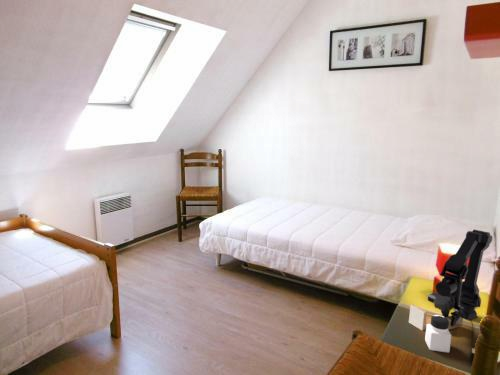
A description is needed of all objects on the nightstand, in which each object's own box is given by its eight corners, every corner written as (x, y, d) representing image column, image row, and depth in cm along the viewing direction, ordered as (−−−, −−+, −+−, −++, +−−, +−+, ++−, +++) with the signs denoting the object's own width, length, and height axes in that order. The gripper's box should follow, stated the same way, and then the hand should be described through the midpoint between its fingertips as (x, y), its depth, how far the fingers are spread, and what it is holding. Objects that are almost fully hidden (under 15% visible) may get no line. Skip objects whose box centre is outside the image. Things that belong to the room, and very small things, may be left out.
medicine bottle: (449, 353, 138) (453, 323, 136) (429, 350, 139) (432, 320, 137) (443, 342, 145) (447, 314, 143) (424, 339, 146) (427, 311, 144)
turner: (453, 321, 159) (454, 312, 159) (464, 327, 155) (465, 318, 154) (427, 328, 153) (428, 319, 152) (438, 334, 148) (439, 325, 148)
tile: (411, 321, 160) (413, 304, 159) (424, 329, 154) (426, 311, 153) (408, 322, 159) (410, 305, 158) (422, 330, 153) (424, 312, 152)
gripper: (420, 283, 157) (416, 317, 159) (460, 302, 140) (456, 340, 143) (438, 279, 161) (434, 312, 164) (479, 297, 145) (475, 334, 147)
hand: (448, 324), depth 154 cm, fingers closed on turner, 3 cm apart
